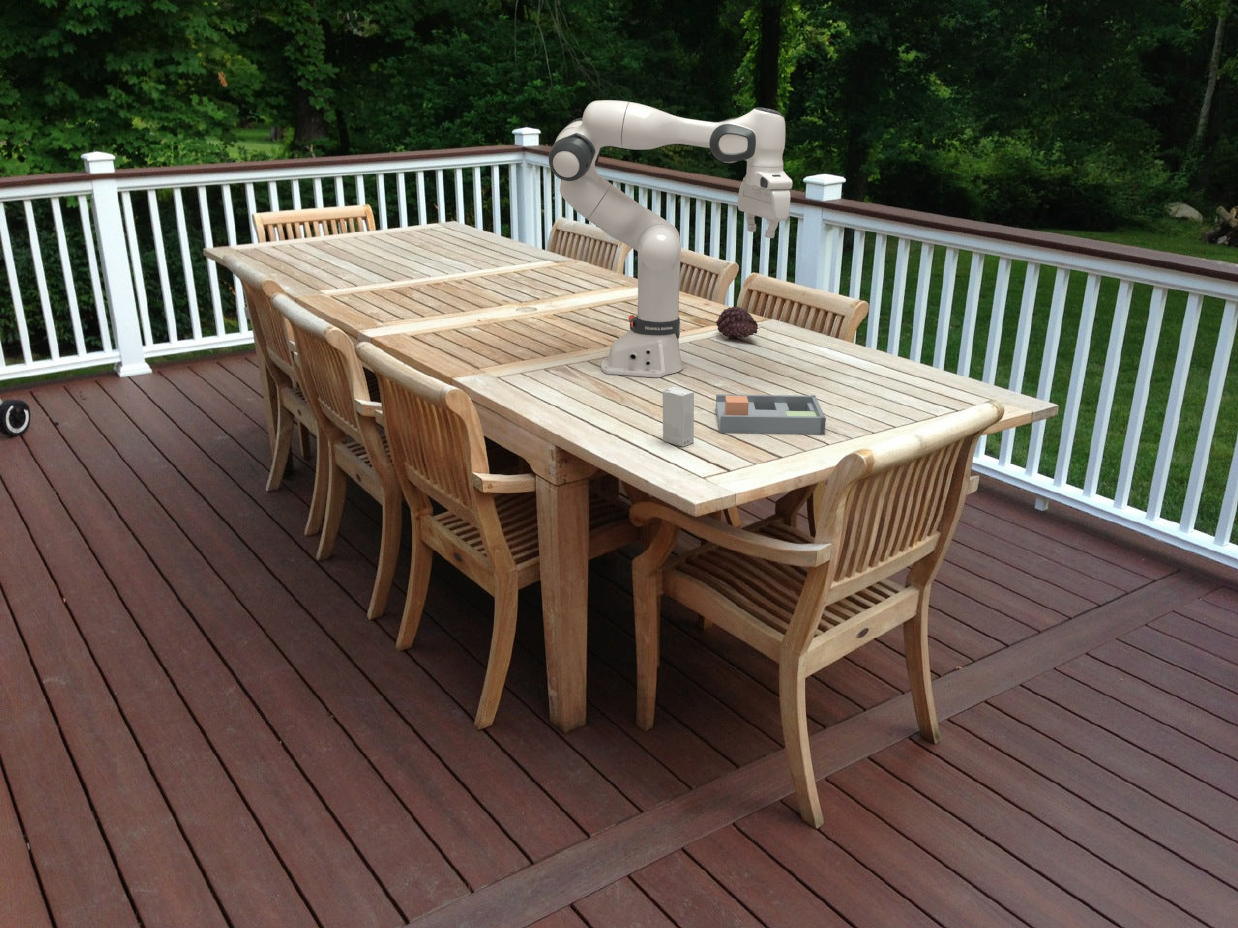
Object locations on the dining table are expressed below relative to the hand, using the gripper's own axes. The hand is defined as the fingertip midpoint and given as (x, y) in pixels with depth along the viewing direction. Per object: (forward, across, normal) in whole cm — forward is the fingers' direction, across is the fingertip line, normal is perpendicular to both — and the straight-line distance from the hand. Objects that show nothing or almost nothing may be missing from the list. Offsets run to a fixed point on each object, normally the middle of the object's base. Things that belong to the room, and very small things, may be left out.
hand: (760, 234), depth 273 cm
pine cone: (+39, -41, +17) cm, 59 cm away
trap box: (+39, +28, -10) cm, 49 cm away
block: (+37, +28, -19) cm, 50 cm away
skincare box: (+40, +33, -36) cm, 63 cm away
